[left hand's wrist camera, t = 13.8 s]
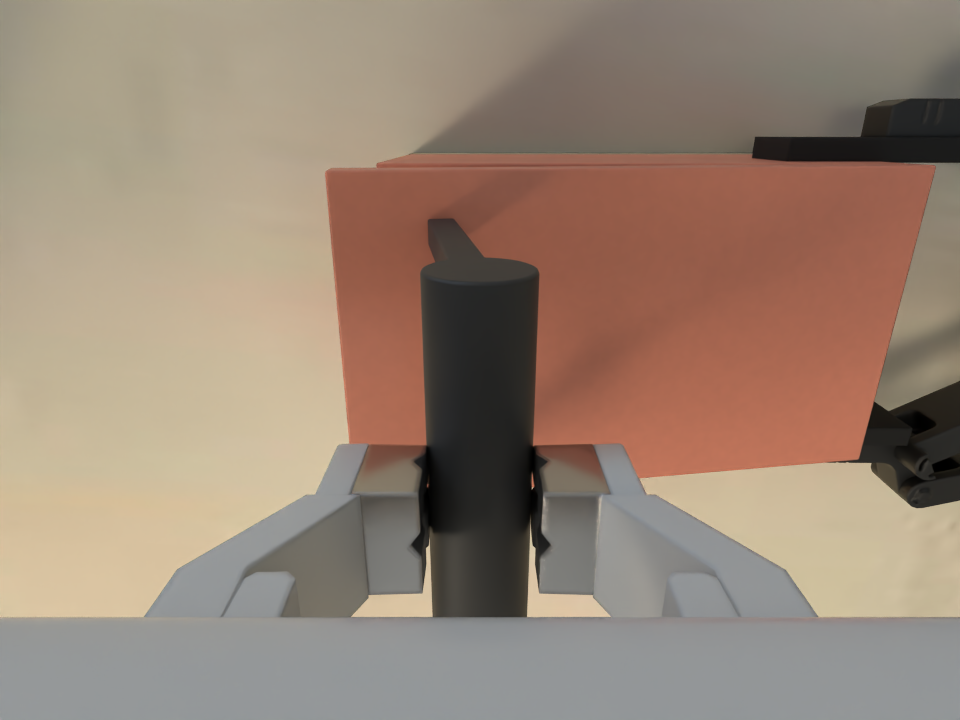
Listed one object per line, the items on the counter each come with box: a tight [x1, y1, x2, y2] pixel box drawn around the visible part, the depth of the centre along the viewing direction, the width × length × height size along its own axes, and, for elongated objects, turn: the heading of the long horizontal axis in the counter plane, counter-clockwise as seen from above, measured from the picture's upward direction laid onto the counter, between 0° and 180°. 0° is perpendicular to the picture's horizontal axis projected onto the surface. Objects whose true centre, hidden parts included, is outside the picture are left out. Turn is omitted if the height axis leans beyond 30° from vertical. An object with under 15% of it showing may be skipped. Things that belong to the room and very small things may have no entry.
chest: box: [377, 153, 905, 168], centre depth 24 cm, size 16×10×9 cm, turn 90°
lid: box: [325, 164, 936, 617], centre depth 14 cm, size 17×10×9 cm, turn 90°
